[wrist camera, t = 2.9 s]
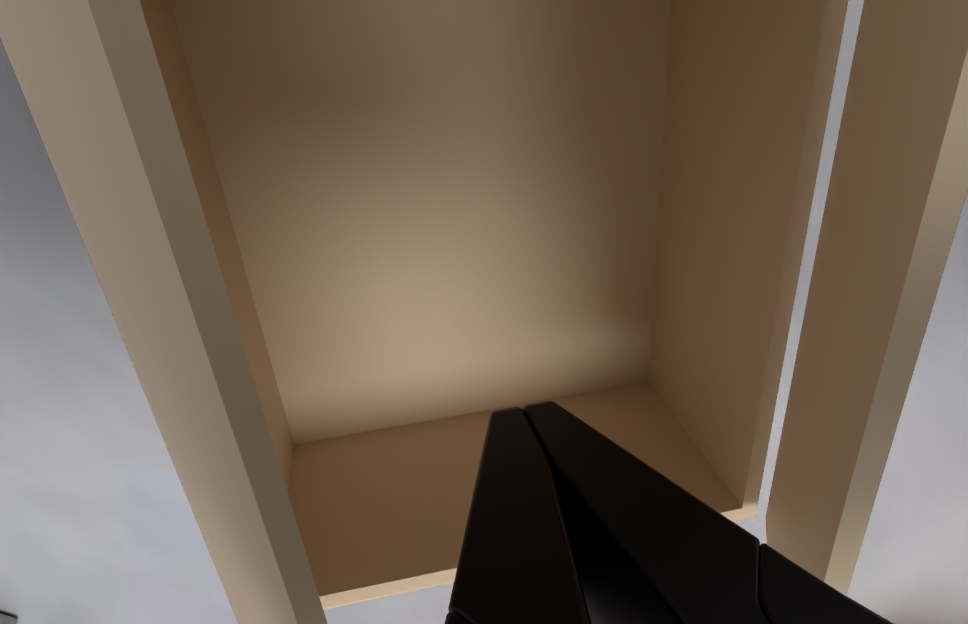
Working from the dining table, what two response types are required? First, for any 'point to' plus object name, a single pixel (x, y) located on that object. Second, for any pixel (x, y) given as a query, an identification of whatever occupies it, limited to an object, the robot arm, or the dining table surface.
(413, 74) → the carton
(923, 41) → the flap
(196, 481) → the flap
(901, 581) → the dining table surface
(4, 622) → the skincare box
